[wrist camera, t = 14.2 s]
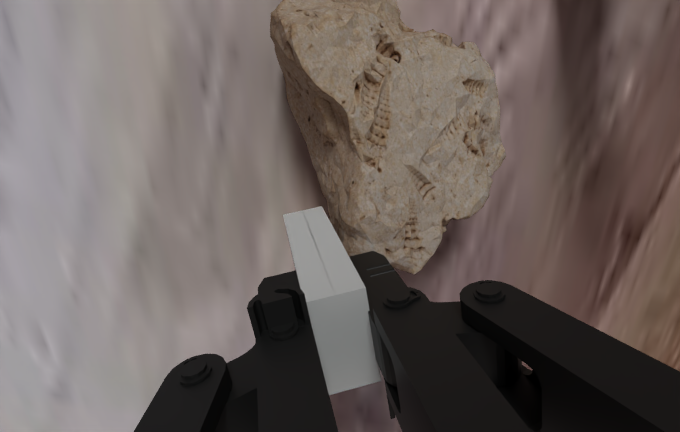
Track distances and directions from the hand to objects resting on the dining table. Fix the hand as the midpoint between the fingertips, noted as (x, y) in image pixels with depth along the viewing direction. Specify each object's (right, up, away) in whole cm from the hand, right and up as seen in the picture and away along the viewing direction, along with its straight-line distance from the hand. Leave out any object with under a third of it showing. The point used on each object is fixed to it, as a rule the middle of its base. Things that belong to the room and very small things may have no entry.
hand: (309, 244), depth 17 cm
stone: (+4, +2, +5) cm, 7 cm away
